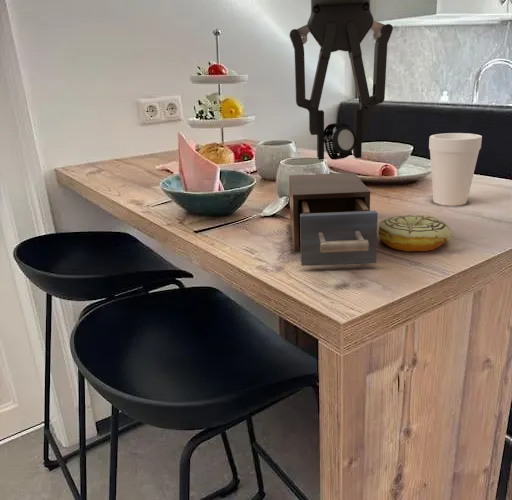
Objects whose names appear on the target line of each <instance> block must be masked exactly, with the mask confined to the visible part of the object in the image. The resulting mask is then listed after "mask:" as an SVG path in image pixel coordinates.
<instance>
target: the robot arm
mask: <svg viewBox="0 0 512 500" xmlns="http://www.w3.org/2000/svg"><path fill="white" fill-rule="evenodd" d="M393 27H394V26H393V25H392V24H391V23H386V24H385V23H382V22H379V21H376V20H375V19H374V16H373V14H372V12H371V0H310V16H309V18H308V20H307V24H304V25H303V26H301V27H298V28H293V29H291V30H290V32H289V36H288V37H289V39H290V42H291V44H292V47H293V50H294V53H293V54H294V79H295V81H294V82H295V103H296V106H298V107H300V108H303V109H305V110H307V111H308V131H309V134H310V135H311V136H316V157H317V159H318V160H319V161H320V160H325V143H324V139H325V138H324V130H325V111H324V110H322V109H320V108H319V107H320V103H321V98H322V94H323V89H324V85H325V81H326V76H327V71H328V67H329V62H330V59H331V55H332V53H335V52H338V51H341V52H347V53H348V57H349V60H350V66H351V70H352V75H353V80H354V85H355V90H356V95H357V99H358V104H359V108H353V132H354V135H355V138H356V141H355V146H354V148H353V150H352V155H353V157H354V158H355V159H362V151H363V150H362V149H363V148H362V145H363V144H362V143H363V134H364V133H366V134H367V133H369V132H370V128H371V125H370V123H371V110H372V108H373V107H374V106H377V105H379V104H382V103H384V102H385V98H386V95H385V94H386V82H387V81H386V79H387V61H388V60H387V58H388V43H389V40H390V39H391V35H392V33H393V31H394V28H393ZM370 30H371V32H372V36H371V37H372V39H373V41H375V42H374V51H373V74H372V75H373V76H372V94H371V95H370V92H369V87H368V86H369V85H368V82H367V76H366V70H365V66H364V60H363V54H362V47H361V43H362V42H363V40H364V39H365V38H366V36H367V34H368V33H369V31H370ZM308 34H311V35H312V37H313V38H314V40H315V42H316V43H317V44H318V46H319V47H320V49H319V54H318V60H317V65H316V70H315V75H314V78H313V85H312V88H311V93H310V98H309V99H308V98H306V68H305V66H306V65H305V47H304V45H305V44H306V43H307V42H308Z"/></svg>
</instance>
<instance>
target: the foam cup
mask: <svg viewBox="0 0 512 500" xmlns="http://www.w3.org/2000/svg"><path fill="white" fill-rule="evenodd" d="M482 140H483V135H480V134H476V133H469V132H467V133H465V132H446V133H436V134H432V135H430V136H429V140H428V149H429V156H430V173H431V187H432V198H433V202H434V203H435V204H437V205H441V206H454V207H455V206H462V205H463V206H464V205H466V204H467V202H468V199H469V196H470V195H469V194H470V191H471V186H472V182H473V178H474V174H475V170H476V165H477V161H478V158H479V157H478V156H479V154H480V150H481V149H482V142H483V141H482Z"/></svg>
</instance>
